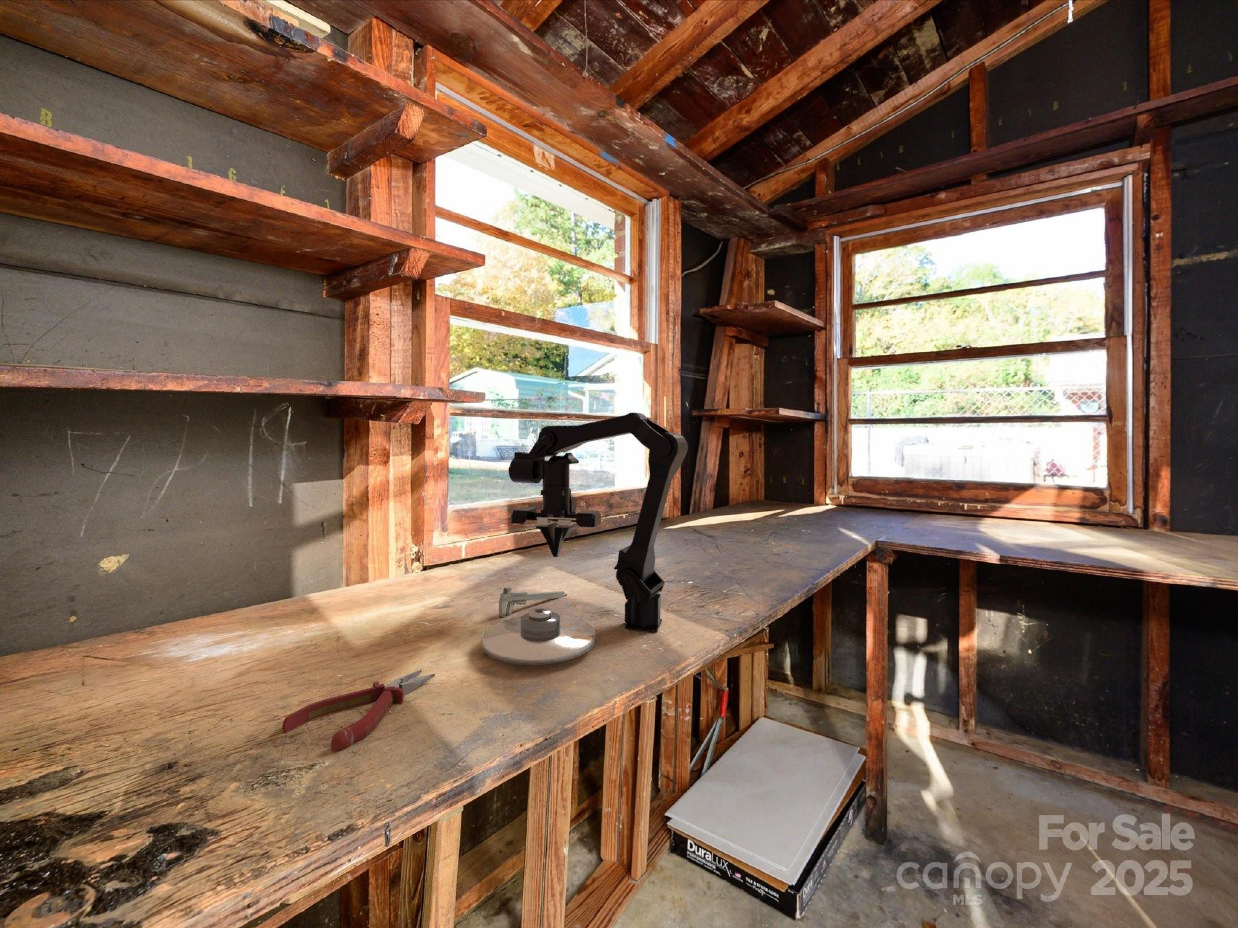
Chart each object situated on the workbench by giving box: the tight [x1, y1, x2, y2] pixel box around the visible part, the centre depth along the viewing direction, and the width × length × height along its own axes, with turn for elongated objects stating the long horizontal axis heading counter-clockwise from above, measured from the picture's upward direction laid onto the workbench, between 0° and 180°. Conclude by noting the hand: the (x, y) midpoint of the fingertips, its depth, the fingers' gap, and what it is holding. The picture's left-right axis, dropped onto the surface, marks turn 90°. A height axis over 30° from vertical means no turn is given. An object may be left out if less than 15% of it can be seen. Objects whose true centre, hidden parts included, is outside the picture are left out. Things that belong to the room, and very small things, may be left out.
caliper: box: [498, 587, 568, 618], centre depth 121 cm, size 20×1×6 cm, turn 144°
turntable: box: [481, 614, 596, 666], centre depth 97 cm, size 20×20×1 cm
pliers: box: [282, 668, 436, 752], centre depth 76 cm, size 12×20×3 cm, turn 154°
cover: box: [520, 606, 561, 641], centre depth 97 cm, size 7×7×4 cm
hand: (555, 556), depth 116 cm, fingers closed
